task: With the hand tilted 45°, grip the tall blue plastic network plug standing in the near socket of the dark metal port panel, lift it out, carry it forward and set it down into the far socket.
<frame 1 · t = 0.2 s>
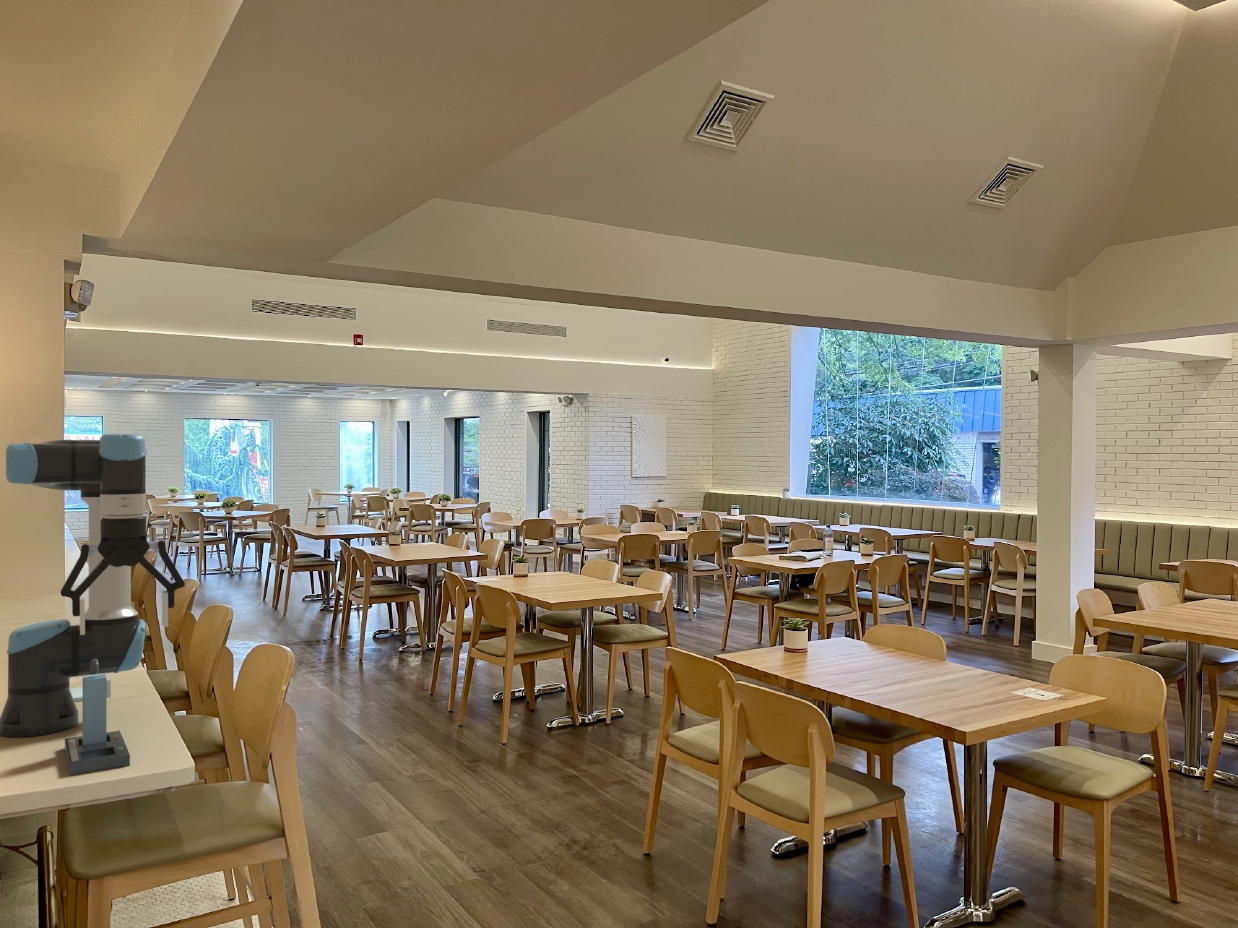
hand: (124, 629, 167), 28 cm above the table, tool pointing down, fingers open, 13 cm apart
port panel: (96, 756, 179), on the table
hard drive: (83, 698, 228), on the table
plug: (94, 750, 183), resting in port panel
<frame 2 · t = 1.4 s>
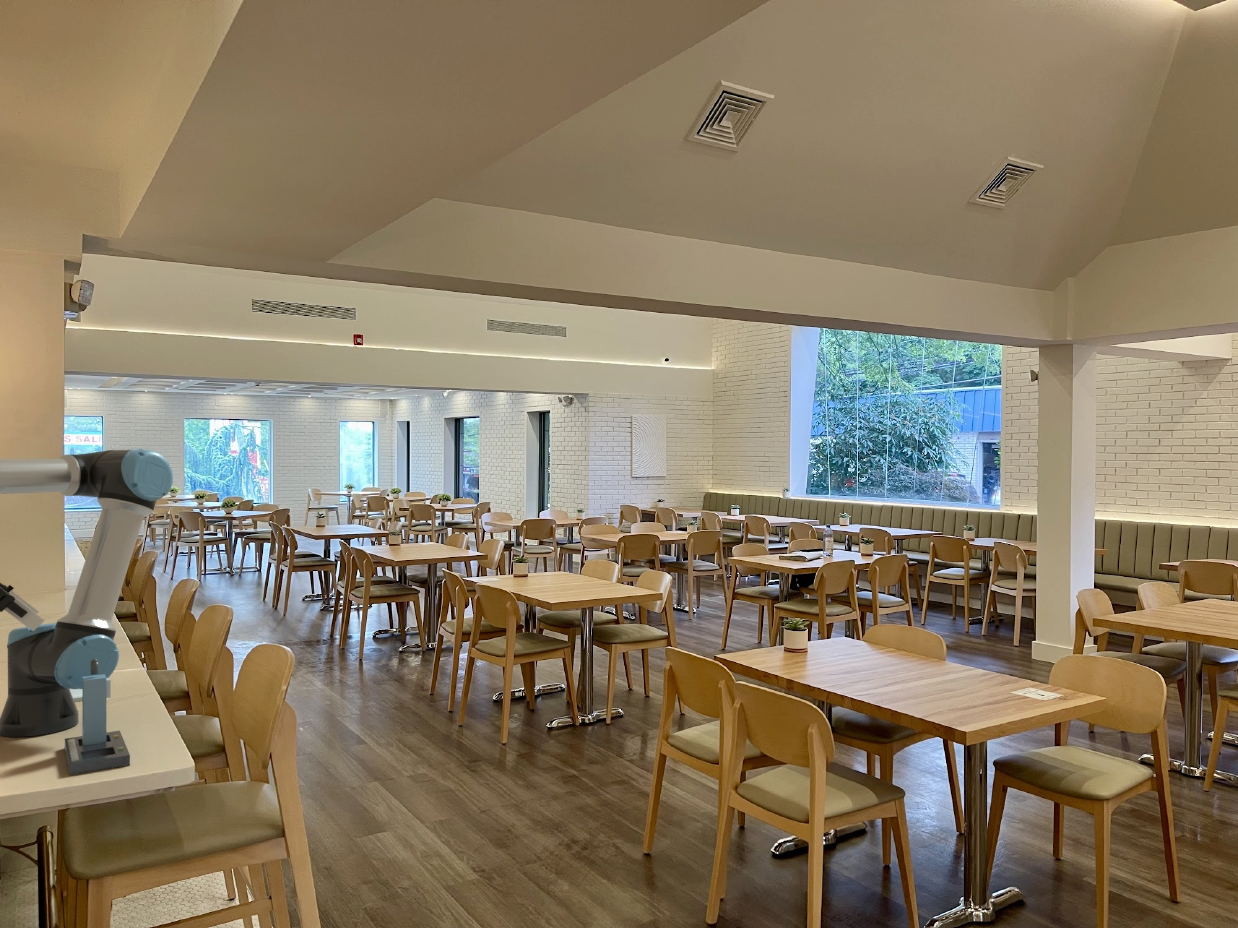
hand: (36, 621, 177), 28 cm above the table, tool tilted 45°, fingers open, 13 cm apart
nothing on the table moved.
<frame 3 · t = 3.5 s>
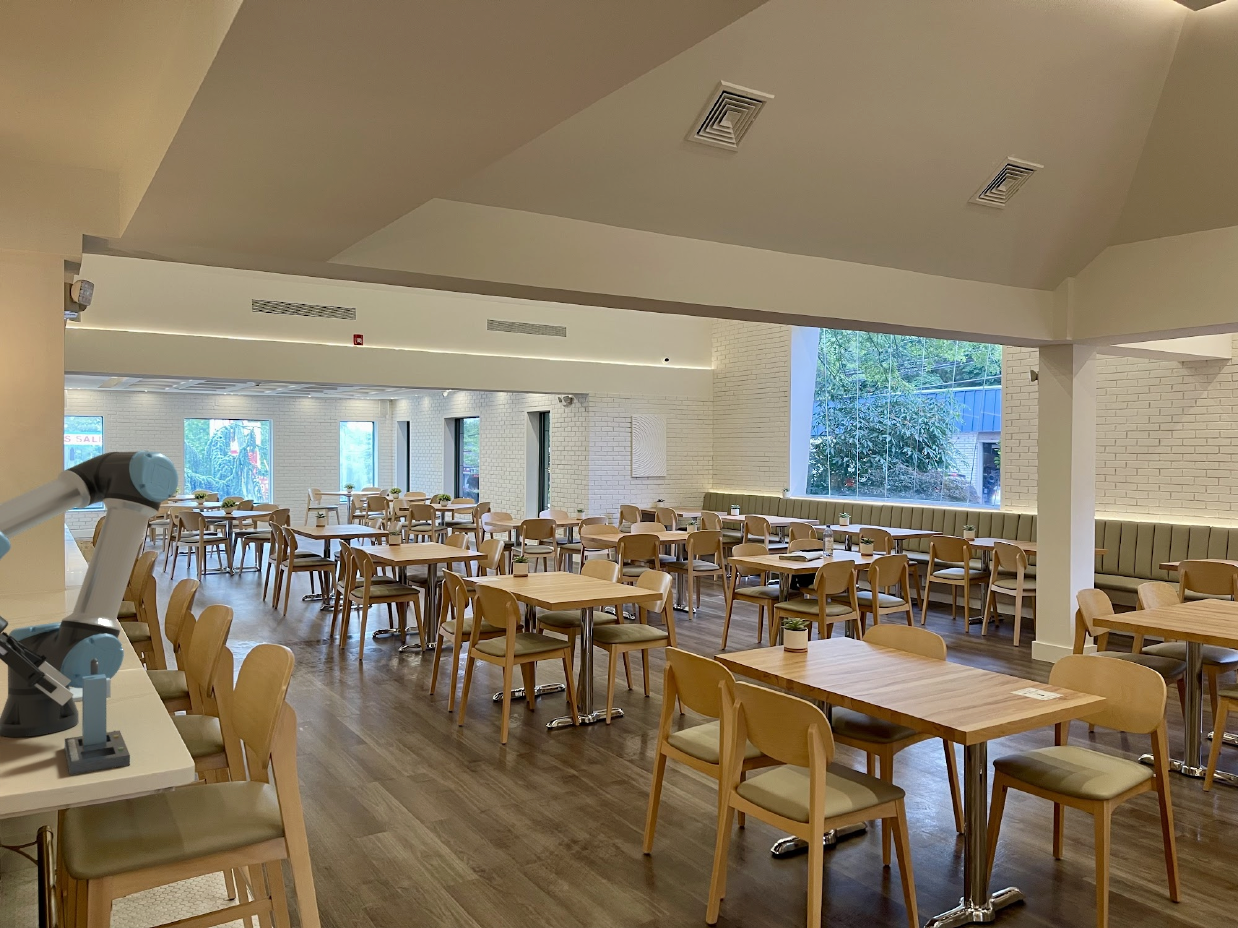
hand: (67, 692, 179), 13 cm above the table, tool tilted 45°, fingers open, 13 cm apart
nothing on the table moved.
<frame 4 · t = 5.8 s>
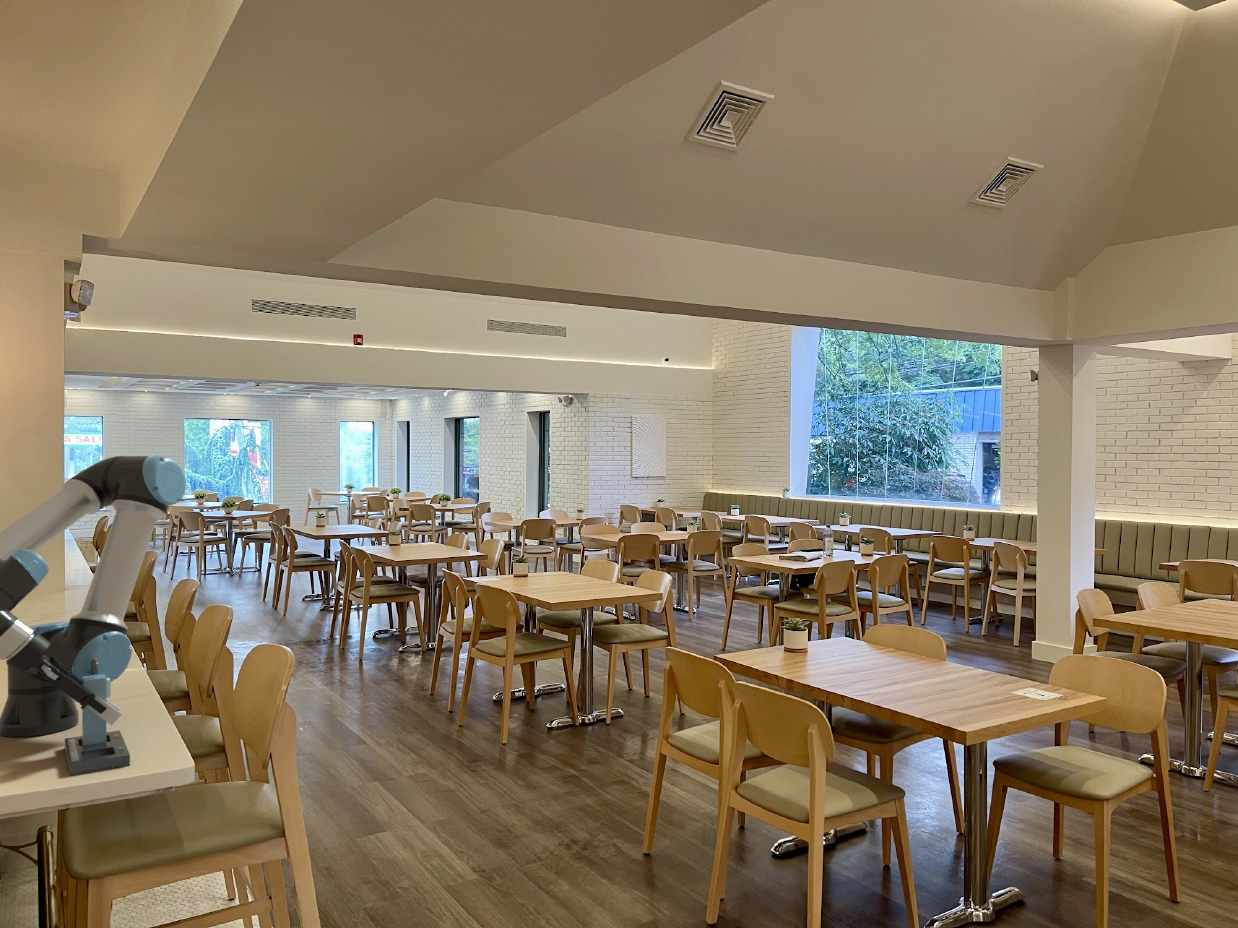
hand: (115, 716, 185), 6 cm above the table, tool tilted 45°, fingers closed on plug, 4 cm apart
plug: (94, 750, 183), resting in port panel, touching gripper
everything else where it was.
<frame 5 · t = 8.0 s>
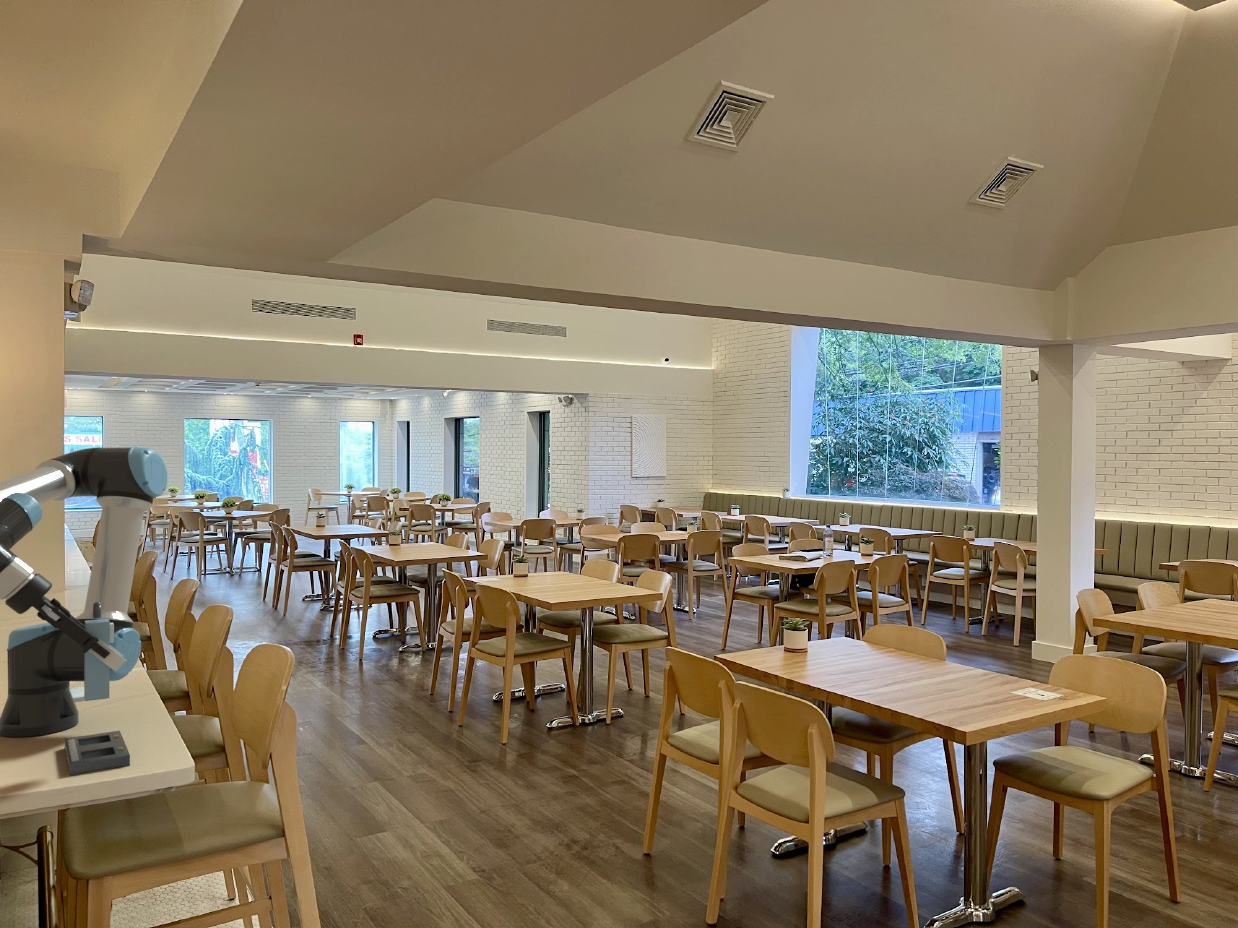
hand: (119, 663, 177), 19 cm above the table, tool tilted 45°, fingers closed on plug, 4 cm apart
plug: (96, 697, 174), point 13 cm above the table, touching gripper
everything else where it was.
when the fingers open (8 cm above the table, at t = 10.3 s): plug drops 1 cm, resting in port panel.
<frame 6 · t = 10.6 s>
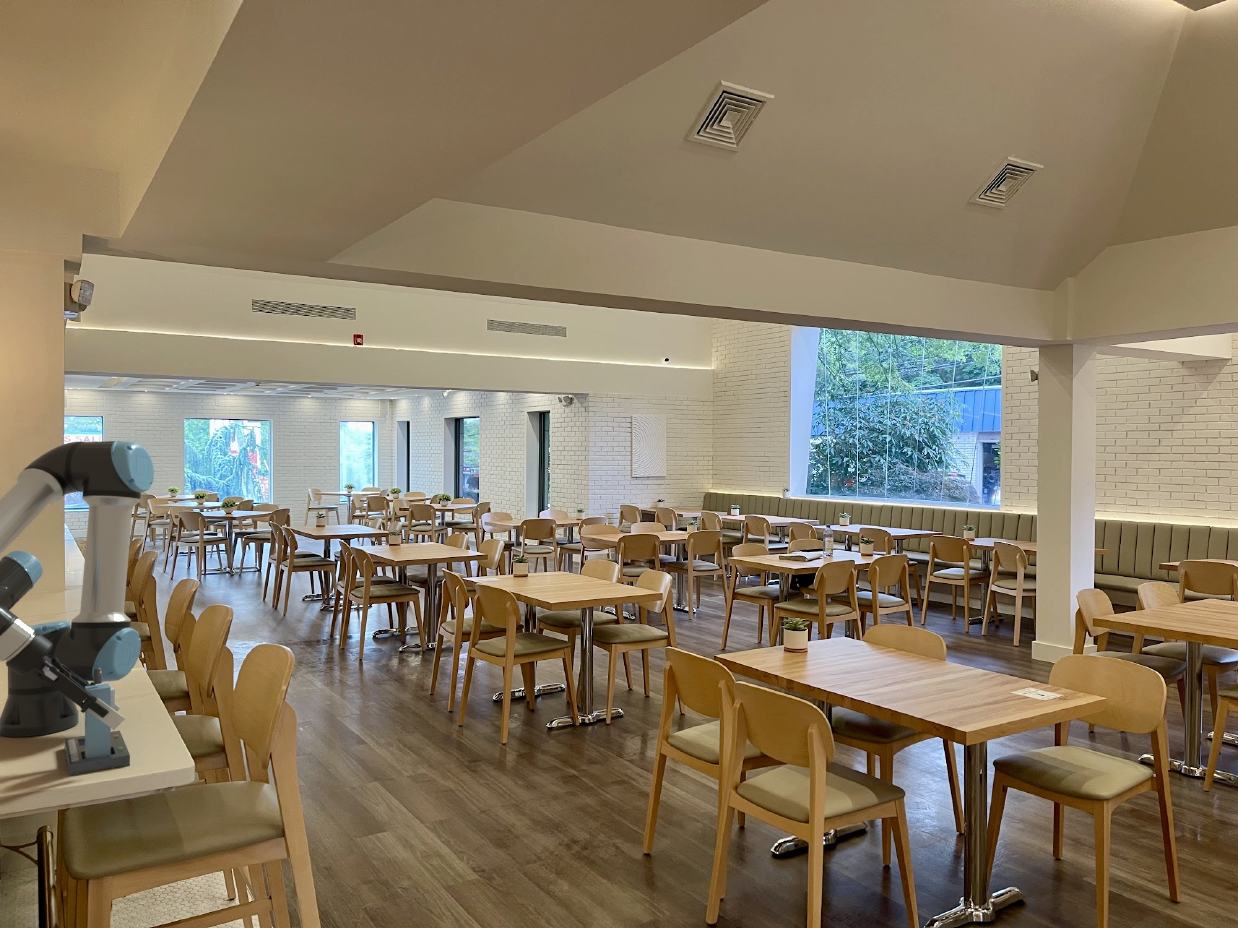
hand: (117, 718, 176), 8 cm above the table, tool tilted 45°, fingers open, 9 cm apart
plug: (97, 763, 175), resting in port panel
everything else where it was.
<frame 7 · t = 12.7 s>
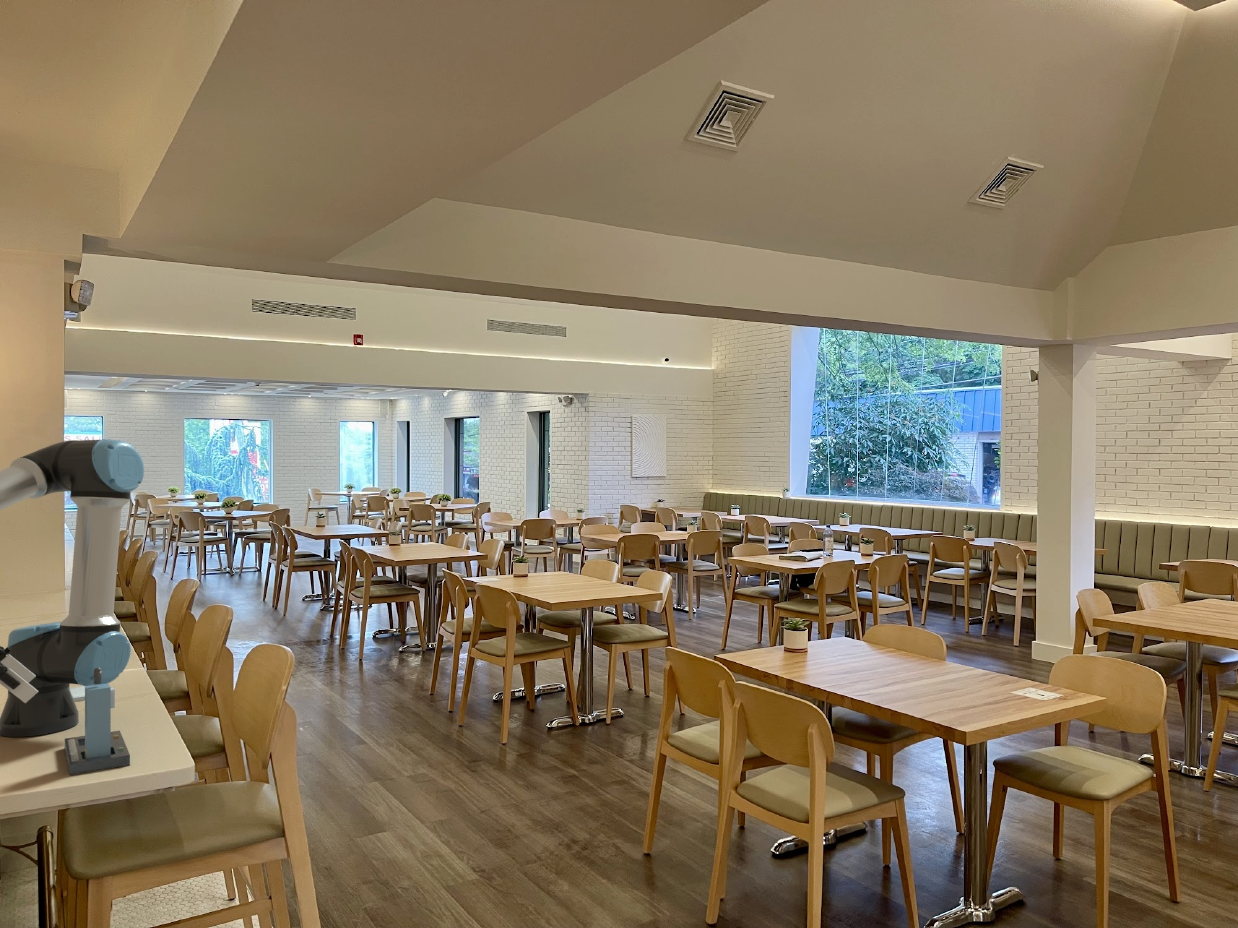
hand: (31, 688, 169), 16 cm above the table, tool tilted 45°, fingers open, 13 cm apart
nothing on the table moved.
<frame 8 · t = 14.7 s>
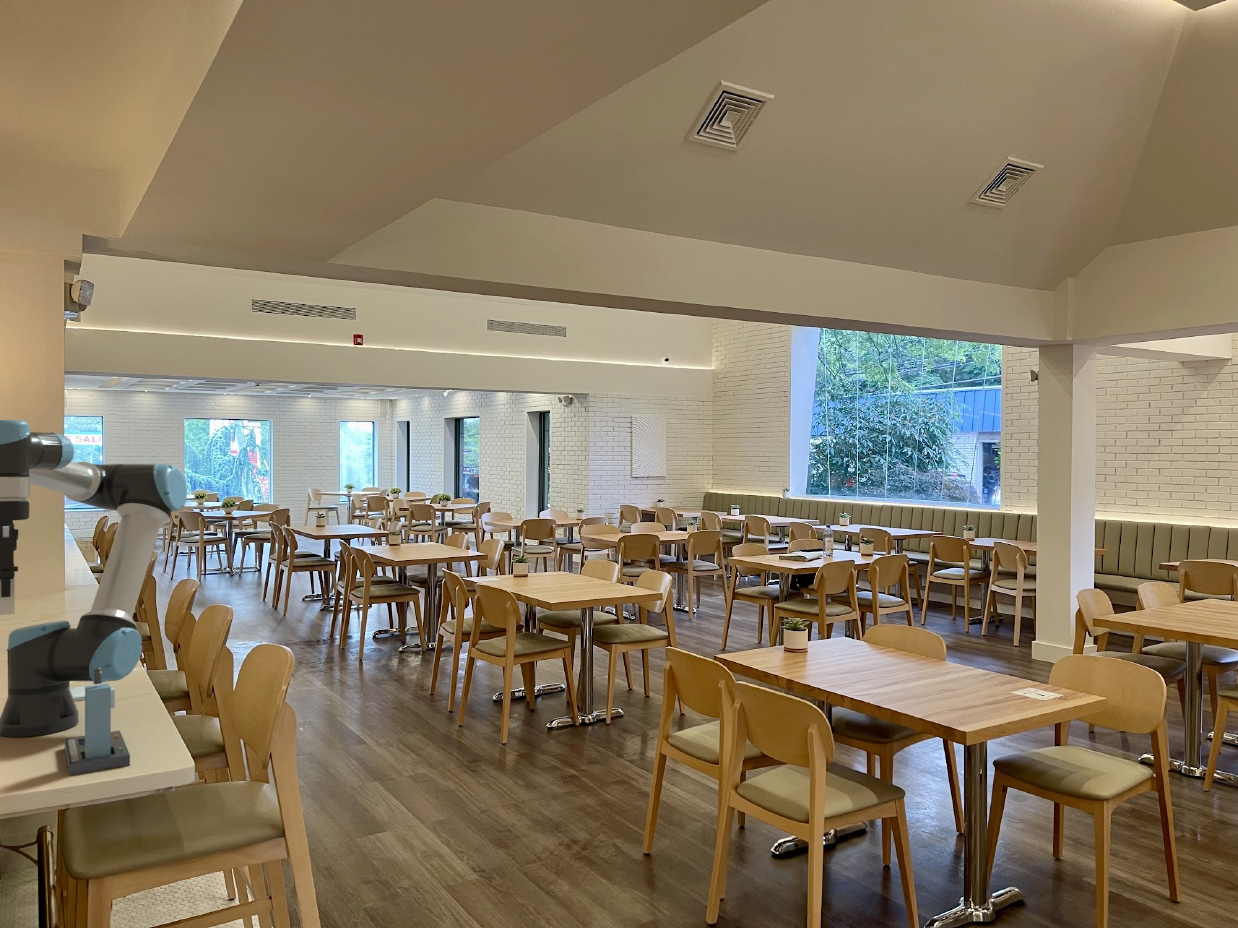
hand: (5, 609, 171), 31 cm above the table, tool pointing down, fingers open, 13 cm apart
nothing on the table moved.
at the end: plug 0.1 cm from the target spot on the port panel, point 0.0 cm above the port panel's base; plug tilted 0°; the gripper is holding nothing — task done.
